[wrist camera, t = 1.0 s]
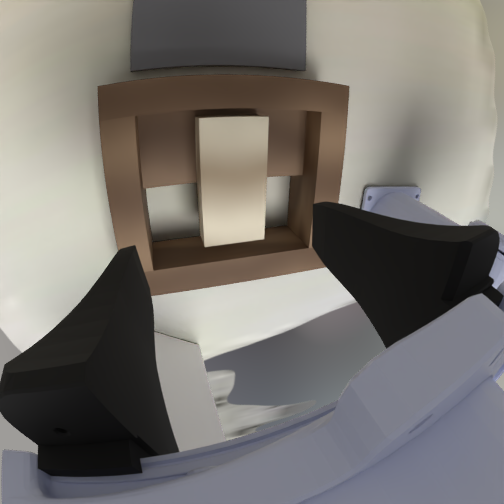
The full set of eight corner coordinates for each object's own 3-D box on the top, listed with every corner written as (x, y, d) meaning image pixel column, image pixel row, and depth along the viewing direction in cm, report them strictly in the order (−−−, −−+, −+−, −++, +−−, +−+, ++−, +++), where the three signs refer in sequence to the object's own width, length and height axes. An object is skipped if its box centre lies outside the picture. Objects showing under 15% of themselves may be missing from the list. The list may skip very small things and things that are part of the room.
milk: (199, 343, 28) (275, 558, 10) (174, 377, 30) (228, 565, 12) (144, 327, 25) (193, 577, 7) (124, 364, 27) (157, 574, 9)
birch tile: (255, 226, 21) (264, 239, 19) (200, 233, 20) (204, 247, 18) (257, 114, 17) (268, 116, 15) (194, 116, 16) (199, 118, 14)
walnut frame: (305, 243, 26) (327, 266, 23) (132, 267, 22) (130, 298, 19) (318, 85, 19) (349, 86, 16) (109, 89, 15) (97, 86, 12)
